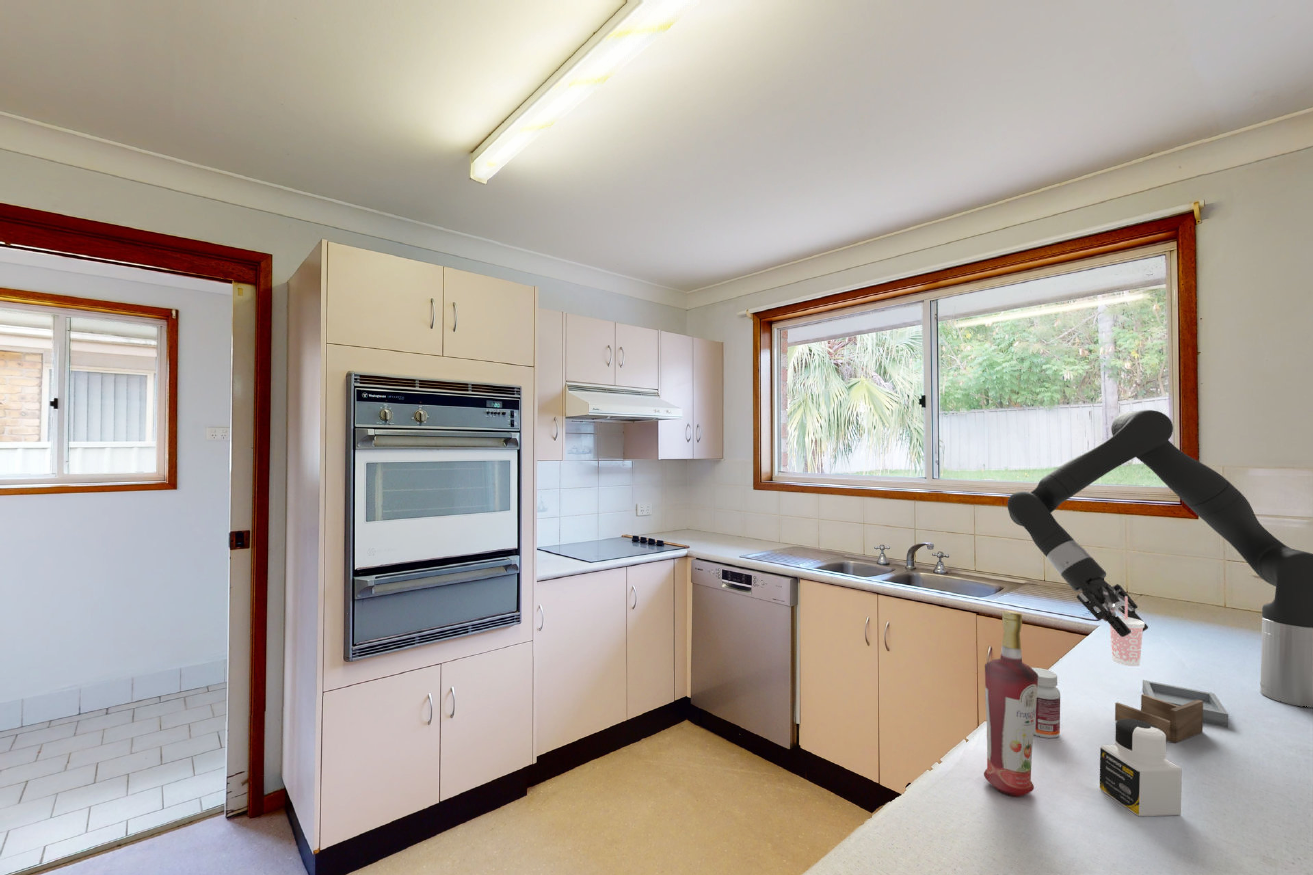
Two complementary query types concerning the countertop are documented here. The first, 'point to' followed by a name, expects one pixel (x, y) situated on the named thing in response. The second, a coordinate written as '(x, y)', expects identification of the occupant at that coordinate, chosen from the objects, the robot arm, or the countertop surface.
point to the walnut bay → (1166, 716)
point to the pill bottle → (1047, 705)
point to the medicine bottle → (1140, 770)
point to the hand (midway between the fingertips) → (1135, 632)
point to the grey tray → (1188, 700)
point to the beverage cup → (1127, 641)
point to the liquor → (1010, 713)
